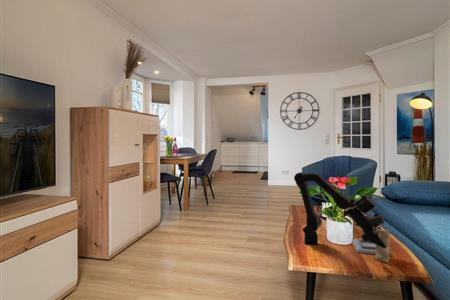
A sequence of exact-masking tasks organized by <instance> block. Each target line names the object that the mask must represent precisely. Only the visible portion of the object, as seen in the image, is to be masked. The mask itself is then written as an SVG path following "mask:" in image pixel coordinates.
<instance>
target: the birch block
mask: <svg viewBox="0 0 450 300" xmlns="http://www.w3.org/2000/svg"><path fill="white" fill-rule="evenodd" d="M377 232H378V236H379V238H380V239H381V241H382V242H383V243H384V245H385V246H386V248H382V247H380V246H378V245H376V254H375V260H377V261H380V262H385V263H389V261H390V231H389V230H386V229H385V230H384V229H381V230H379V229H377V230H376V233H377Z"/></svg>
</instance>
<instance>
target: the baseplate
mask: <svg viewBox="0 0 450 300" xmlns="http://www.w3.org/2000/svg"><path fill="white" fill-rule="evenodd" d="M351 242H352V244H353V247H354V248H355V250H356V252H357V253H360V254H361V253H362V254H371V255H376V244H374V243H372V242H370V241H366V242H364V240H363V239H362V238H361V239H359V238H358V239H355V238H352V239H351Z"/></svg>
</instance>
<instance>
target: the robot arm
mask: <svg viewBox="0 0 450 300" xmlns="http://www.w3.org/2000/svg"><path fill="white" fill-rule="evenodd" d="M293 180H294V182H295V184H296V186H297V187H298V189H299V190H300V194H301V197H302V202H303V205H304V209H305V213H306V218H305V219H306V220H305V221H306V222H305V223H306V226H305V227H303V228H302V232H303V234H304V239H303V241H304V245H312V246H317V245H318V243H319V239H318V238H319V235H318V233H317V231H318V229H320V227H321V226H322V219H321V214H317V213H316V211H315V208H314V203H313V200H312V197H311V192H310V189H309V183H310V182H315V183H316V184H317V185H318V186H319V187H320V188H321V189H323V191H324V192H325V193H327V194H328V195H329V196H330V197H331V198H332V199H333V202H334V204H336V206H337V207H338V209H340V210H343V217H345V218H346V216H348V217H350V219H351V220H352V221H353V222H354V223H355V226H356V227H359V228H360V229H361V230H362V234H361V240H364V242H366V241H370V242H372V243H374V244H376V245H378V246H380V247H382V248H386V246H385V245H384V243H383V242H382V241H381V239H380V238H379V236H378V232H377V233H376V230H377V229H379V230H382V227H381V225H382V224H385V221H386V220H385V218H384V215H382V214H380V213H379V212H376V213H374V214H373V216H371V217H370V216H369V215H365V214H368V213H369V212H371V211H372V210H373V209H374V208H376V207H377V204H376V203H375V201H374V200H373V199H372V198H370V197H368V196H367V195H365V194H364V195H362V197H361V198H360V199H358V200H356V199H351V198H350V197H349V196H348V195H346V194H345V193H342V192H340V191H339V190H337V189H336V188H335V187H334V185H332V184H331V183H329V181H327V180H326V179H325V178H324V177H323V176H322V175H321V174H320V173H307V172H304V171H300V172H297V173H296V174H295V175H294V177H293ZM364 213H365V214H364Z"/></svg>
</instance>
